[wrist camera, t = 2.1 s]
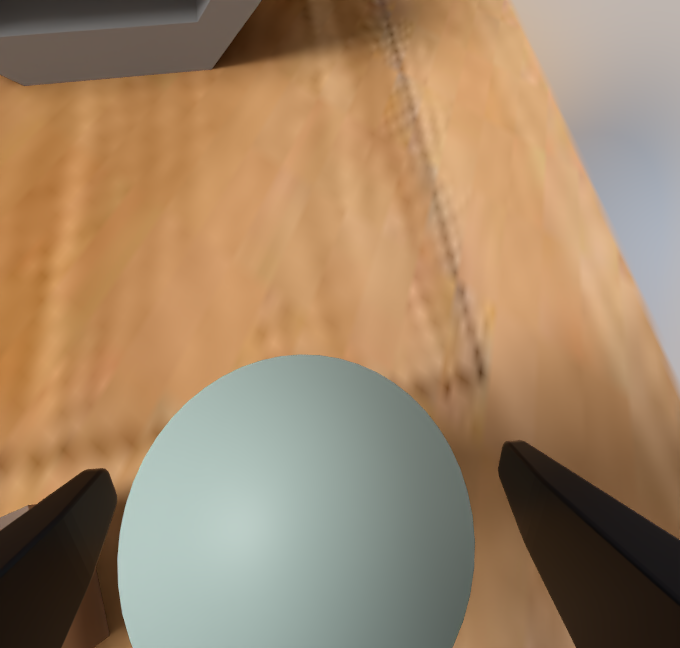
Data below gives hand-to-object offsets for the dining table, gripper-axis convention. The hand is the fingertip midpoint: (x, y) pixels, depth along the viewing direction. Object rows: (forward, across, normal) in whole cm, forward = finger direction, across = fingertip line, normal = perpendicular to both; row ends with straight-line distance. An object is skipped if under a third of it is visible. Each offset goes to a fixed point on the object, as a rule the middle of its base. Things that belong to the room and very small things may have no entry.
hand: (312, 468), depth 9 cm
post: (+5, 0, +6) cm, 8 cm away
